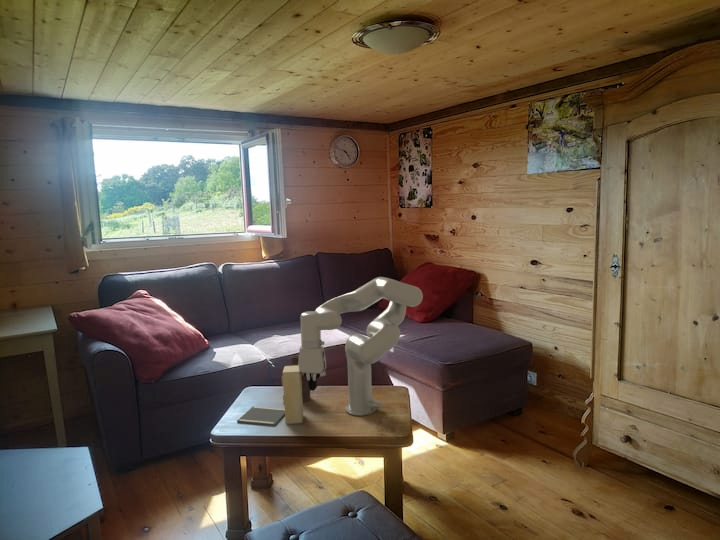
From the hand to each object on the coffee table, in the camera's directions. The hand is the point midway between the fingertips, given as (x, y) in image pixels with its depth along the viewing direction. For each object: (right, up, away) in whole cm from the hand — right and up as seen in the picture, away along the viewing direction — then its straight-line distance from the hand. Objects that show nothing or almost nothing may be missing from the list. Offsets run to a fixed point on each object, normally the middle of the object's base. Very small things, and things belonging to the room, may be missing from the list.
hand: (312, 389), depth 191 cm
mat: (-21, -13, +7) cm, 25 cm away
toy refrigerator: (-8, -13, +4) cm, 16 cm away
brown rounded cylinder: (-7, -10, +24) cm, 27 cm away
